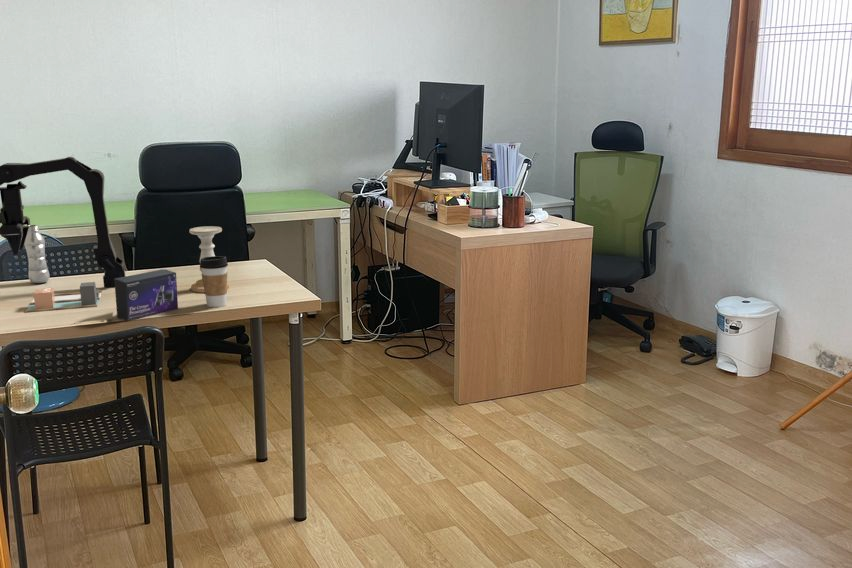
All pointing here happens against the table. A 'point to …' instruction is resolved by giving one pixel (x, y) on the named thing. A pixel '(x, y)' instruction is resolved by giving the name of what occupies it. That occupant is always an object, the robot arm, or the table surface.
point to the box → (146, 294)
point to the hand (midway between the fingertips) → (18, 251)
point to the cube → (44, 298)
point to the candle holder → (205, 249)
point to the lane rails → (64, 301)
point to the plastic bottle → (36, 255)
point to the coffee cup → (215, 280)
